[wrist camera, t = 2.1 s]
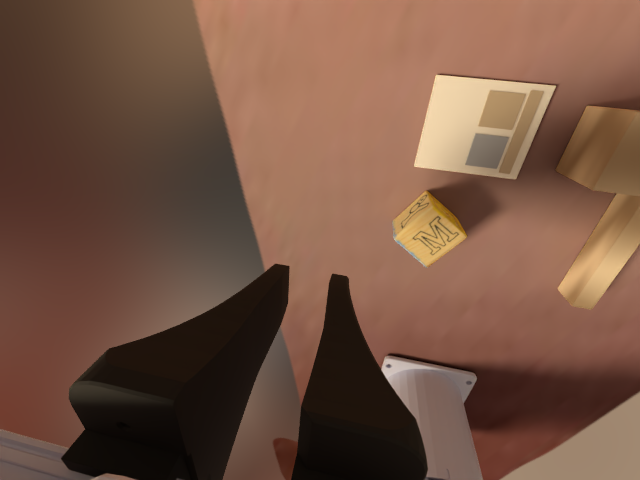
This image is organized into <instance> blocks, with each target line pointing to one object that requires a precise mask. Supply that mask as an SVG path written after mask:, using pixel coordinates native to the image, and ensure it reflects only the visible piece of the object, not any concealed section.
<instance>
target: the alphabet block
mask: <svg viewBox="0 0 640 480" xmlns="http://www.w3.org/2000/svg"><path fill="white" fill-rule="evenodd" d="M392 223H393V236H394V240H395V241H396V242H397V243H398V244H400V245H401V246H402V247H403V248H404V249H405V250H406V251H408V252H409V253H410V254H411V255H412V256H413V257H415V258H416V259H417V260H418V261H419V262H420V263H422V264H423V265H424V266H425V267H426V268H427V267H429V266H430V265H431V264H433V263H434V262H435V261H436V260H438V259H439V258H440V257H442V256H443V255H445V254H446V253H447V252H448V251H450V250H451V249H453V248H454V247H455V246H457V245H458V244H459V243H461V242H462V241H463V240H465V239H466V238H467V235H466V233H465V231H464V229H463V228H462V226H461V224H460V222H459V221H458V219H457V218H456V217H455V216H454V215H453V214H452V213H451V212H450V211H449V210H448V209H447V208H446V207H444V206H443V205H442V204H441V203H440V202H439V201H438V200H437V199H436V198H434V197H433V196H432V195H431V194H430V193H429V192H428V191H425V192H424V193H423V194H422V195H421V196H419V197H418V198H417V199H416V200H415V201H414V202H413V203H412V204H411V205H410V206H409V207H408V208H406V209H405V210H404V211H403V212H402V213H401V214H400V215H399V216H398V217H397V218H395V219H394V220H393V222H392Z"/></svg>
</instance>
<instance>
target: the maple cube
mask: <svg viewBox="0 0 640 480" xmlns="http://www.w3.org/2000/svg"><path fill="white" fill-rule="evenodd" d="M555 171H556V172H558V173H560V174H562V175H564V176H566V177H568V178H570V179H572V180H574V181H576V182H577V183H579V184H581V185H583V186H585V187H587V188H589V189H591V190H594V191H602V192H609V193H617V194H625V195H633V196H640V111H639V110H628V109H618V108H608V107H598V106H588V105H587V106H586V108H585V111H584V113H583V115H582V117H581V119H580V121H579V123H578V125H577V127H576V129H575V131H574V133H573V135H572V137H571V139H570V141H569V143H568V145H567V147H566V149H565V151H564V153H563V155H562V157H561V160H560V162H559V164H558V166H557V168H556V170H555Z"/></svg>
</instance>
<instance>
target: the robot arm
mask: <svg viewBox="0 0 640 480" xmlns="http://www.w3.org/2000/svg"><path fill="white" fill-rule="evenodd" d="M288 290H289V266H286V265H280V264H275V265H273V266H272V267H271V268H269V269H268V270H267V271H266V272H265V273H263V274H262V275H261V276H260V277H258V278H257V279H256V280H254V281H253V282H252V283H250V284H249V285H248V286H246V287H245V288H244V289H242V290H241V291H240V292H238V293H236V294H235V295H233V296H232V297H231V298H229V299H227V300H226V301H224V302H223V303H221V304H219V305H218V306H216V307H215V308H213V309H211V310H209V311H207V312H205V313H203V314H201V315H199V316H197V317H195V318H193V319H190V320H188V321H186V322H184V323H182V324H180V325H177V326H175V327H172V328H170V329H167V330H165V331H163V332H160V333H157V334H154V335H151V336H149V337H146V338H143V339H140V340H136V341H133V342H130V343H126V344H123V345H120V346H117V347H113V348H109V349H108V350H107V351H106V352H105V353H104V354H103V355H102V356H101V357H100V358H99V359H98V360H97V361H96V362H95V363H94V364H93V365H92V366H91V367H90V368H88V369H87V371H86V372H84V373H83V374H82V375H81V376H80V377H79V378H78V379H77V381H75V382H74V383H73V385H72V386H71V387H70V389H69V400H70V402H71V405H72V407H73V408H74V410H75V412H76V413H77V415H78V417H79V419H80V421H81V422H82V424H83V426H84V428H85V430H84V431H83V433H82V434H81V435H80V436H79V437H78V438H77V440H76V441H75V442H74V443H73V444H72V446H71V447H70V448H66V447H63V446H59V445H55V444H52V443H48V442H45V441H41V440H37V439H34V438H30V437H26V436H23V435H19V434H15V433H12V432H8V431H5V430H1V429H0V480H222V479H223V476H224V472H225V469H226V466H227V462H228V459H229V456H230V453H231V450H232V446H233V444H234V441H235V438H236V435H237V432H238V429H239V425H240V423H241V420H242V417H243V414H244V411H245V408H246V405H247V402H248V399H249V396H250V394H251V391H252V388H253V385H254V382H255V380H256V377H257V375H258V372H259V370H260V368H261V365H262V363H263V361H264V359H265V357H266V355H267V353H268V351H269V348H270V346H271V344H272V342H273V340H274V338H275V336H276V334H277V332H278V329H279V327H280V325H281V323H282V320H283V317H284V314H285V311H286V307H287V304H288ZM388 364H390V365H388ZM476 380H477V377H476V375H475V374H474V373H472V372H468V371H463V370H458V369H453V368H448V367H444V366H439V365H434V364H429V363H424V362H419V361H414V360H409V359H404V358H400V357H395V356H386V357H385V358H384V362H383V365H382V369H380V367H379V365H378V364H377V362H376V360H375V358H374V356H373V354H372V353H371V351H370V349H369V347H368V345H367V342H366V340H365V338H364V336H363V333H362V331H361V328H360V326H359V323H358V320H357V317H356V314H355V311H354V308H353V304H352V300H351V296H350V290H349V279H348V277H347V276H343V275H337V274H332V276H331V279H330V282H329V289H328V297H327V305H326V313H325V321H324V328H323V332H322V336H321V340H320V344H319V347H318V351H317V355H316V358H315V362H314V365H313V369H312V373H311V376H310V379H309V383H308V386H307V389H306V393H305V396H304V399H303V402H302V405H301V416H300V427H299V439H298V450H297V456H296V460H295V465H294V469H293V474H292V478H291V480H483V478H482V474H481V470H480V466H479V462H478V458H477V454H476V450H475V447H474V443H473V439H472V435H471V431H470V427H469V423H468V419H467V415H466V411H465V407H464V402H465V400H466V398H467V397H468V395H469V393H470V391H471V389H472V388H473V386H474V384H475V382H476Z"/></svg>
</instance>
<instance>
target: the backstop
mask: <svg viewBox="0 0 640 480" xmlns="http://www.w3.org/2000/svg"><path fill="white" fill-rule="evenodd" d="M639 244H640V196H633V195H625V194H616V195H615V197H614V199H613V200H612V202H611V204H610V205H609V207H608V208H607V210H606V212H605V213H604V215H603V216H602V218H601V220H600V221H599V223H598V224H597V226H596V228H595V229H594V231H593V233H592V234H591V236H590V237H589V239H588V241H587V242H586V244H585V245H584V247H583V249H582V250H581V252H580V253H579V255H578V257H577V258H576V260H575V262H574V263H573V265H572V266H571V268H570V270H569V271H568V273H567V274H566V276H565V278H564V279H563V281H562V282H561V284H560V286H559V287H558V290H559V291H560V293H561V294H562V295H563V296H564V297H565V299H566V300H567V301H568V302H569V303H570V304H571V306H574V307H580V308H586V309H593V307H594V306H595V304H596V303H597V302H598V300H599V299H600V298H601V296H602V295H603V293H604V292H605V291H606V289H607V288H608V287H609V285H610V284H611V282H612V281H613V280H614V278H615V277H616V276H617V274H618V273H619V271H620V270H621V269H622V267H623V266H624V265H625V263H626V262H627V260H628V259H629V258H630V256H631V255H632V254H633V252H634V251H635V249H636V248H637V247H638V245H639Z"/></svg>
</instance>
